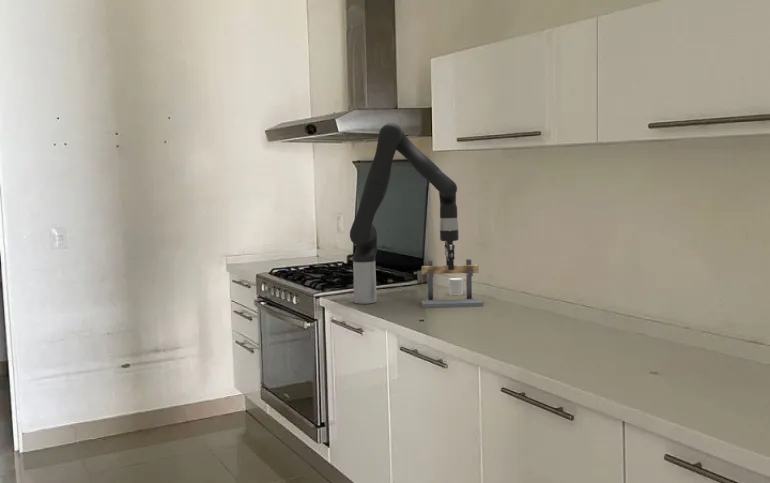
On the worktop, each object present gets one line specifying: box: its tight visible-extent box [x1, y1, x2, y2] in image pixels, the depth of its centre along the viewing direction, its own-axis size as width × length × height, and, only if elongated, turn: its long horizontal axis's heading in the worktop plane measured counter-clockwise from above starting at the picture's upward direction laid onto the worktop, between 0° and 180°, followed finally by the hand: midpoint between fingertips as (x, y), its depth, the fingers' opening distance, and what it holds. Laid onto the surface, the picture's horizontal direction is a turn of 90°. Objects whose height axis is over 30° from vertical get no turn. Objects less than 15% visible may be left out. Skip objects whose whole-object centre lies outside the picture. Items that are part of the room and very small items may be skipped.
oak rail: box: [421, 264, 479, 275], centre depth 311 cm, size 23×3×3 cm, turn 90°
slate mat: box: [421, 298, 484, 309], centre depth 305 cm, size 24×8×2 cm, turn 90°
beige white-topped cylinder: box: [447, 277, 465, 297], centre depth 329 cm, size 7×7×7 cm
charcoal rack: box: [426, 258, 474, 300], centre depth 312 cm, size 19×6×17 cm, turn 90°
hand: (450, 268), depth 311 cm, fingers open, 8 cm apart
